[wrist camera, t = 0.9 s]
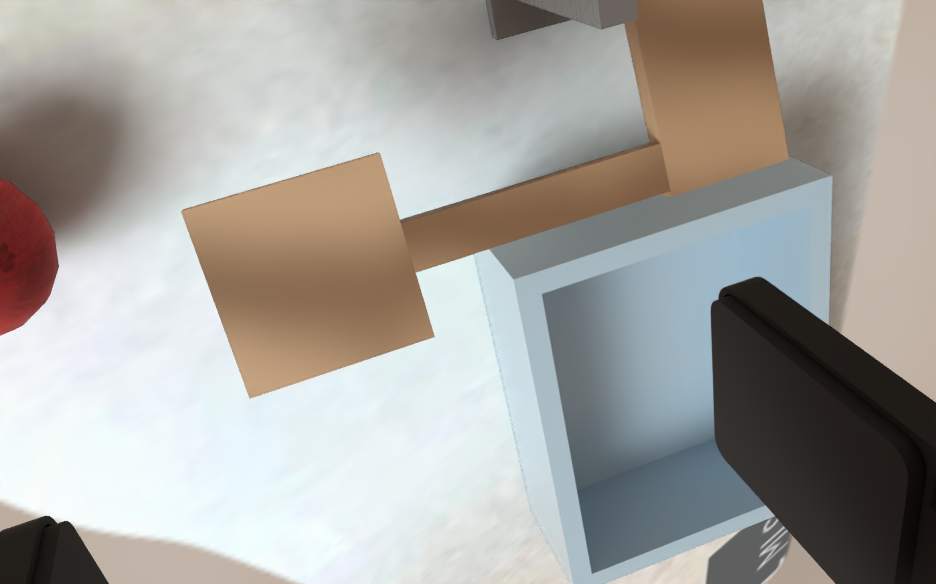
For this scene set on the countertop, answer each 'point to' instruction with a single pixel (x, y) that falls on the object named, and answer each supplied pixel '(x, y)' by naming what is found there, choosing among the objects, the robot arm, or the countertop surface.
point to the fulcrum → (556, 14)
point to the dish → (642, 360)
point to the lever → (474, 204)
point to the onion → (23, 258)
